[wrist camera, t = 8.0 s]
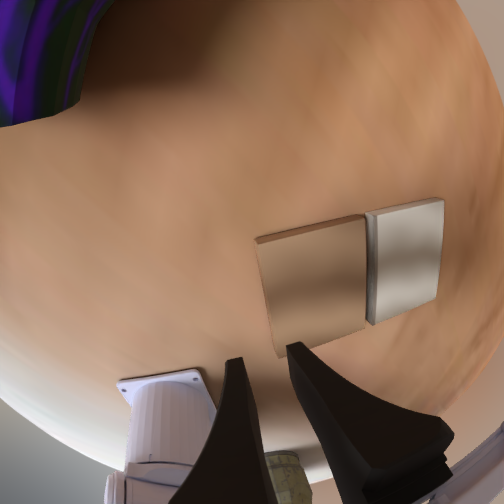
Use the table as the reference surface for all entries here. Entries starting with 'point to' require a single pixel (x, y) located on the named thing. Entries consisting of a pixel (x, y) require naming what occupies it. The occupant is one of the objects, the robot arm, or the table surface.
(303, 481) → the thermos
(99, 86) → the table surface
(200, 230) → the table surface
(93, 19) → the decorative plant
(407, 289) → the laid board
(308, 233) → the plank
